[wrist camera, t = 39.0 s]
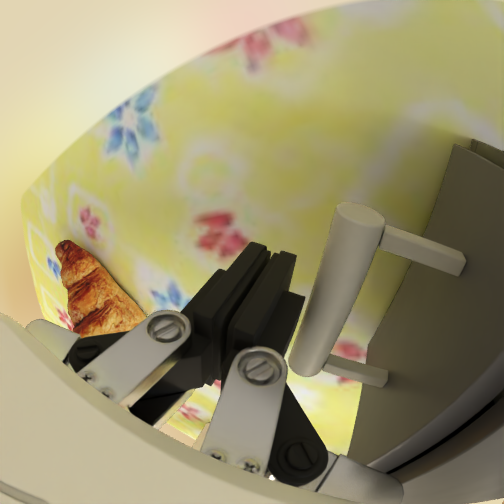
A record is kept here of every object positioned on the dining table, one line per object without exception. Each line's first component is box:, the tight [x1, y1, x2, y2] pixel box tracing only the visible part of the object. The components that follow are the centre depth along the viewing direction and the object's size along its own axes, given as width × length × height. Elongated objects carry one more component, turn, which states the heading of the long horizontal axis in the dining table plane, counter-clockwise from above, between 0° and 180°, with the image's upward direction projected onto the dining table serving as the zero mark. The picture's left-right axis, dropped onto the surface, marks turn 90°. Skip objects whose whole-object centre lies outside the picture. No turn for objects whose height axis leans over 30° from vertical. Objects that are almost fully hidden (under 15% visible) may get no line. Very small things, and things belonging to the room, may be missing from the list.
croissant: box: [55, 240, 147, 338], centre depth 25 cm, size 21×10×8 cm, turn 23°
